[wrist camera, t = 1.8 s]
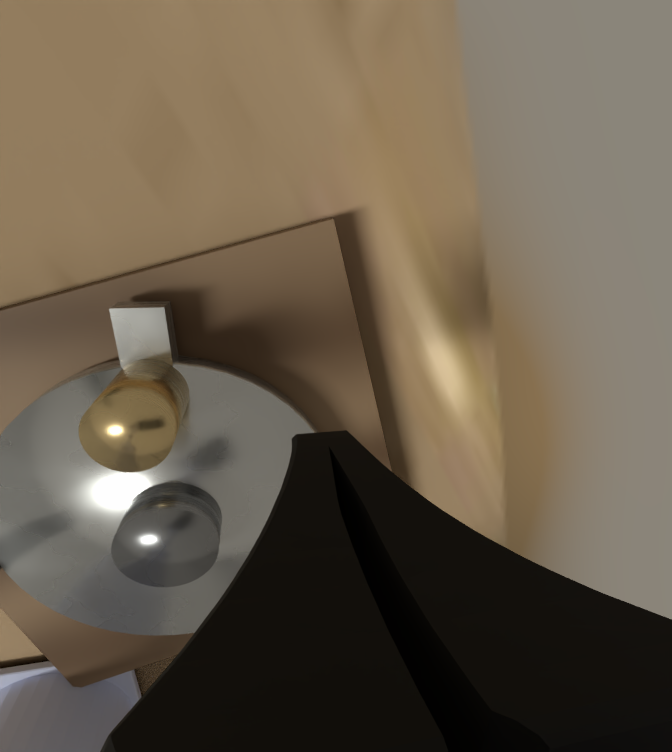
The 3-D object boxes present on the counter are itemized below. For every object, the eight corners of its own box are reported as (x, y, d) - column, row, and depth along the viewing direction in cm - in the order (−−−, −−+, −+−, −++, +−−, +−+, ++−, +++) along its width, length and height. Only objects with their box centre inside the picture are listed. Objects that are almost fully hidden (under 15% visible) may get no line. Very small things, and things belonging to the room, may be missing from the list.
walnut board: (407, 555, 22) (428, 604, 20) (85, 664, 21) (59, 732, 18) (328, 217, 15) (343, 220, 12) (-180, 358, 14) (-290, 396, 11)
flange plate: (332, 592, 20) (347, 672, 17) (46, 634, 18) (-5, 736, 15) (337, 297, 14) (362, 325, 11) (-82, 305, 12) (-216, 344, 9)
